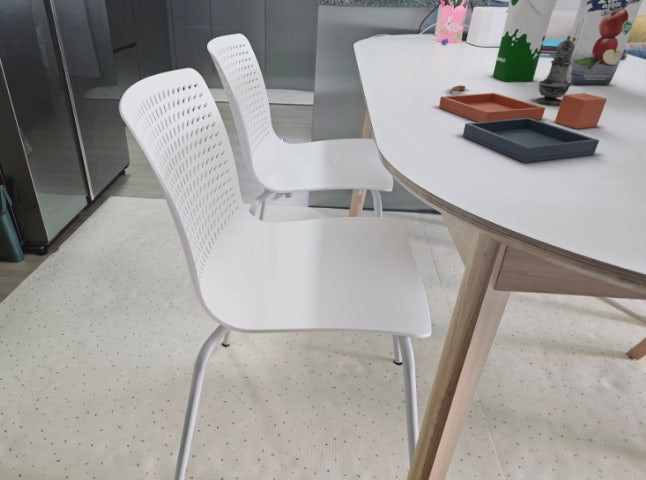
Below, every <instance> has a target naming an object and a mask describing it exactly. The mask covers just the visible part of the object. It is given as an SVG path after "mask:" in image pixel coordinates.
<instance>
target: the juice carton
mask: <svg viewBox="0 0 646 480" xmlns="http://www.w3.org/2000/svg"><path fill="white" fill-rule="evenodd" d="M642 3H643V0H580V3H579V6H578V10H577V12H576V16H575V19H574V23H573V25H572V29H571V32H570V41H571V42H573V43H574V45H575V46H574V50H573V53H572V56H571V59H570V62H572V64H570V65H569V67H568V70H567V74H566V80H567V82H568V83H570V84H571V85H574V86H575V85H577V86H584V85H585V86H588V85H589V86H606V85H610V84H611V82H612V80H613V78H614V76H615V74H616V72H617V70H618V67H619V64H620V62H621V59H622V58H623V57H622V56H623V54H624V51H625V49H626V46H627V43H628V40H629V39H630V38H629V37H630V36H631V33H632V30H633V27H634V25H635V22H636V20H637V16H638V13H639V11H640V8H641V6H642Z"/></svg>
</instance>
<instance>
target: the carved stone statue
mask: <svg viewBox="0 0 646 480" xmlns="http://www.w3.org/2000/svg"><path fill="white" fill-rule="evenodd" d="M570 35H571V34H570ZM570 35H568V36H567V37H566V39H565V40H563V41H561V42H559V43H558V45H557V47H556V50H555V54H554V57H553V60H551V61H550V63H551V67H550V69H549V73H548V75H547V76H546V78H544V79H543V80H539V81H538V84H539V85H538V92H539V94H540V95H541V96H542V97H538V98H536V99H534V103H537V104H540V105H548V106H560V104H561V101H562V99H560V98H561V97H563V95H566V94H567V92H569V89H570V87H572V84H571V83H568V82H567V80H566V74H567V70H568V67H569V65H570V64H572V62H570V59H571V56H572V53H573V50H574V46H575V45H574V43H573V42H571V41H570Z"/></svg>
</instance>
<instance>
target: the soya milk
mask: <svg viewBox="0 0 646 480" xmlns="http://www.w3.org/2000/svg"><path fill="white" fill-rule="evenodd" d="M557 2H558V0H508V7H507V14H506V18H505V23H504V27H503V32H502V34H501V35H502V36H501V40H500V44H499V48H498V53H497V55H496V56H497V57H496V60H495V65H494V69H493V73H492V77H494V78H496V79H499V80H501V81H503V82H534V78H535V75H536V71H537V67H538V64H539V61H540V57H541V53H542V49H543V45H544V42H545V39H546V36H547V32H548V28H549V25H550V21H551V19H552V15H553V12H554V10H555V7H556V4H557Z"/></svg>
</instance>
